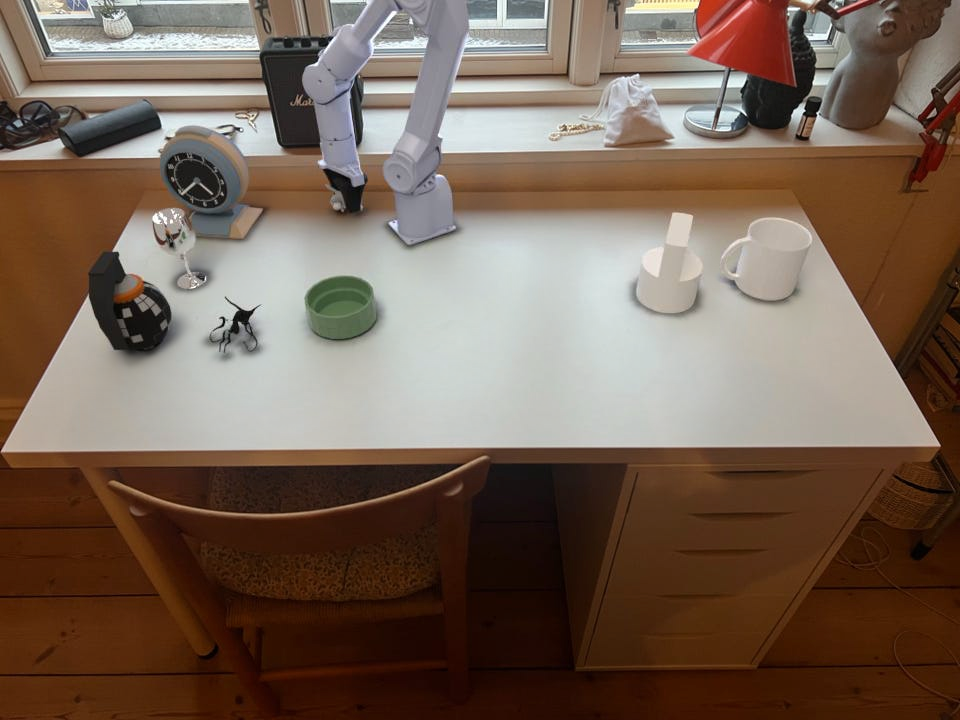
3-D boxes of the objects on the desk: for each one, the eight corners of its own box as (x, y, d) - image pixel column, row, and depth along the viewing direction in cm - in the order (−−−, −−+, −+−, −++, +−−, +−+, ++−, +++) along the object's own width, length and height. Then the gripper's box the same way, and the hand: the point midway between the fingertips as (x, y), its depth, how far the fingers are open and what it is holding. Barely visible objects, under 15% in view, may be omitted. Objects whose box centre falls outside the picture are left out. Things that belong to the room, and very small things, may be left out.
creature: (250, 365, 100) (276, 322, 104) (236, 343, 95) (264, 299, 100) (203, 353, 102) (230, 312, 106) (187, 331, 97) (217, 288, 101)
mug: (790, 270, 113) (808, 221, 107) (796, 305, 107) (815, 254, 100) (714, 262, 115) (727, 212, 109) (715, 295, 109) (729, 244, 102)
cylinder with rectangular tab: (691, 318, 105) (708, 251, 97) (631, 306, 107) (643, 240, 99) (697, 283, 111) (714, 218, 103) (640, 273, 113) (652, 208, 105)
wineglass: (199, 293, 110) (176, 228, 102) (166, 289, 111) (140, 224, 103) (216, 272, 114) (195, 207, 106) (184, 268, 115) (161, 204, 107)
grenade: (162, 372, 97) (124, 286, 87) (95, 372, 98) (48, 286, 87) (188, 319, 106) (156, 235, 95) (126, 319, 106) (87, 235, 96)
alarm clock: (170, 234, 123) (135, 139, 111) (194, 205, 130) (164, 112, 118) (248, 239, 121) (221, 143, 109) (268, 210, 128) (245, 116, 116)
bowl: (360, 291, 110) (356, 268, 107) (388, 326, 104) (385, 302, 101) (300, 312, 107) (294, 289, 104) (325, 350, 100) (319, 326, 97)
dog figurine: (351, 226, 128) (367, 206, 125) (313, 200, 125) (328, 179, 122) (355, 217, 131) (371, 197, 127) (318, 191, 128) (333, 170, 125)
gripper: (298, 123, 121) (312, 193, 130) (331, 156, 111) (343, 229, 121) (337, 113, 123) (347, 183, 132) (371, 145, 114) (380, 218, 123)
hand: (348, 204), depth 127 cm, fingers closed on dog figurine, 5 cm apart
